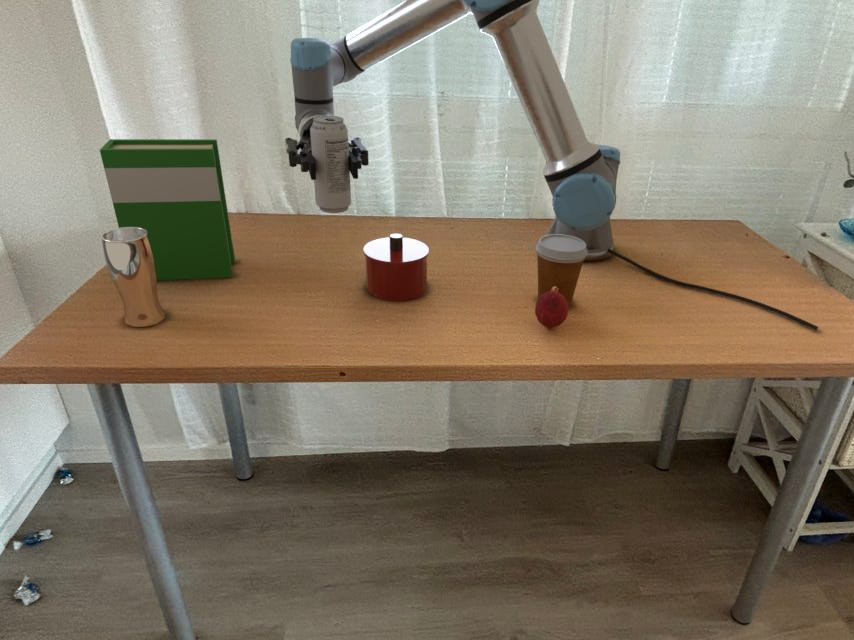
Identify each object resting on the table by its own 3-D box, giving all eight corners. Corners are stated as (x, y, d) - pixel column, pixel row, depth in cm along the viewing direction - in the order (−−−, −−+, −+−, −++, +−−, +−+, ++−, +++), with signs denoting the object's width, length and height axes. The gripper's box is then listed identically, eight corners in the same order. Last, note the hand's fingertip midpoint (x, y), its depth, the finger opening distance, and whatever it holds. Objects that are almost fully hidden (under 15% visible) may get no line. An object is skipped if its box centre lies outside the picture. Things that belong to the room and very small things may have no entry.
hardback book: (235, 261, 130) (216, 139, 117) (232, 277, 124) (212, 149, 111) (139, 265, 126) (109, 139, 113) (132, 281, 120) (99, 150, 107)
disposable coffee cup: (546, 317, 117) (554, 255, 111) (520, 295, 124) (526, 236, 118) (589, 308, 121) (599, 248, 115) (561, 288, 128) (569, 230, 122)
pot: (419, 273, 130) (419, 238, 126) (432, 298, 121) (433, 261, 117) (362, 277, 127) (361, 242, 123) (372, 303, 118) (370, 265, 114)
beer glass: (139, 333, 104) (116, 245, 96) (113, 320, 107) (89, 234, 99) (176, 317, 109) (158, 233, 102) (151, 305, 112) (131, 223, 104)
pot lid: (420, 240, 127) (421, 222, 125) (436, 265, 117) (436, 246, 115) (358, 244, 123) (357, 225, 122) (369, 270, 114) (368, 250, 112)
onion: (564, 338, 111) (570, 297, 106) (530, 333, 112) (535, 292, 107) (567, 323, 116) (572, 282, 111) (535, 318, 116) (540, 278, 112)
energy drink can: (338, 200, 116) (333, 113, 108) (358, 209, 113) (354, 120, 105) (309, 206, 112) (302, 117, 104) (328, 216, 109) (322, 124, 101)
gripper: (371, 155, 127) (393, 191, 109) (270, 157, 122) (275, 195, 103) (369, 115, 123) (392, 146, 105) (266, 116, 118) (270, 148, 99)
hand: (334, 170), depth 104 cm, fingers closed on energy drink can, 6 cm apart
